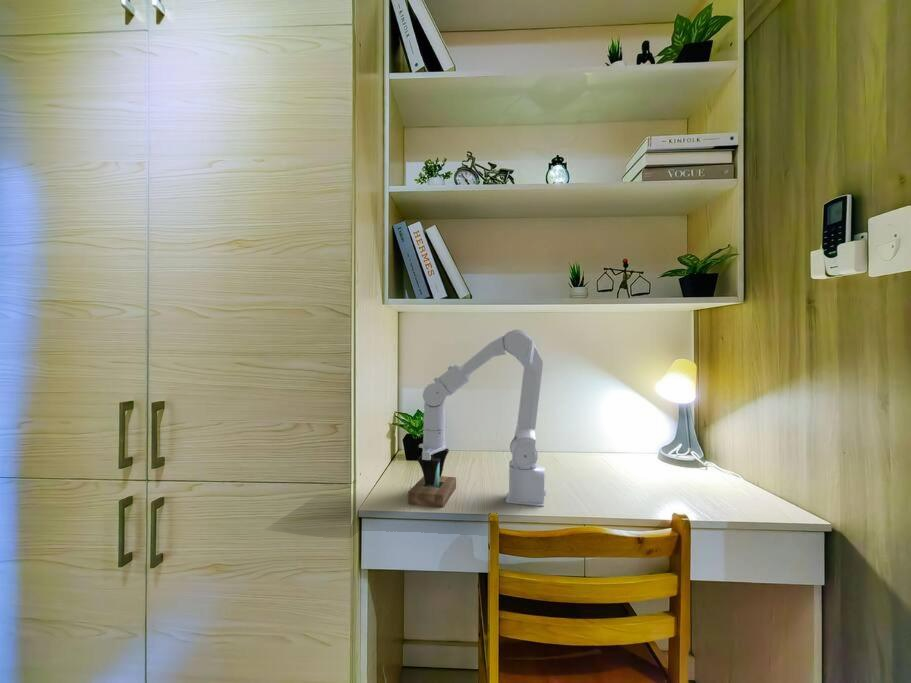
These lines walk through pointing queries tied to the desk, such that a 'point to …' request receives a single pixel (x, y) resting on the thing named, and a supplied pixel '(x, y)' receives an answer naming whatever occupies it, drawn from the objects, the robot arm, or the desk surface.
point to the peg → (436, 478)
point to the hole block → (432, 492)
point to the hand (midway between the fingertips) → (433, 480)
